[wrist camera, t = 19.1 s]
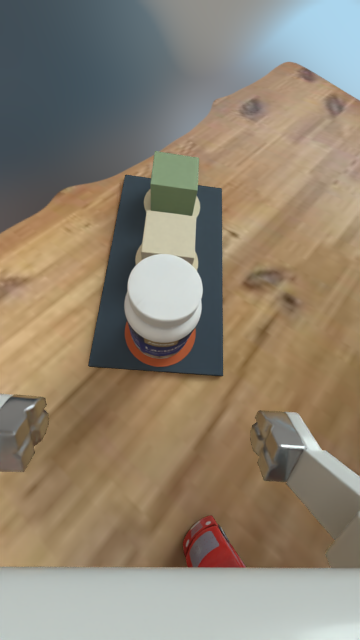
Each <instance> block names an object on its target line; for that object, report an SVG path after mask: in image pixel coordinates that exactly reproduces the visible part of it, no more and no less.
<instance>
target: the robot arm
mask: <svg viewBox="0 0 360 640" xmlns="http://www.w3.org/2000/svg"><path fill="white" fill-rule="evenodd" d="M46 405H47V404H46V399H45V398H43V397H36V396H24V395H10V394H0V472H24V471H25V469H26V468H27V466H28V464H29V462H30V461H31V459H32V457H33V455H34V454H35V450H34V446H35V445H37V444H38V443H39V442H41V441H42V439H43V438H44V436H45V434H46V431H47V428H48V425H49V415H48V413H47V412H46V411H45V410H44V408H45V407H46ZM255 418H256V421H257V422H256V423H255V424H254V425H252V428H251V431H250V440H251V445H252V448H253V451H254V452H255V453H256V454H257V455H258V456H259V459H258V462H257V463H258V466H259V468H260V471H261V474H262V477H263V480H264V481H276V482H287V483H286V484H287V485H288V486H289V487H290V489H291V490H292V491H293V492H294V493H295V494H296V496H297V497H298V498H299V499H300V500H301V501H302V503H303V504H304V505H305V506H306V507H307V508H308V510H309V511H310V512H311V513H312V514H313V515H314V517H315V518H316V519H317V520H318V521H319V522H320V524H321V525H322V526H323V527H324V528H325V529H326V531H327V532H328V533H329V534H330V535H331V536H332V538H333V539H334V542H333V543H332V544H331V545H330V547H329V548H328V549H327V551H326V554H325V555H326V558H327V560H328V562H329V564H330V567H331V568H221V567H0V640H360V476H358V475H357V474H356V473H354V472H353V471H352V470H350V469H349V468H348V467H347V466H345V465H344V464H343V463H341V462H340V461H339V460H337V459H336V458H335V457H334V456H332V455H331V454H330V453H328V452H327V451H324V450H321V448H320V446H319V445H318V443H317V442H316V440H315V439H314V437H313V436H312V434H311V432H310V431H309V429H308V428H307V426H306V425H305V423H304V421H303V420H302V418H301V417H300V415H299V414H297V413H296V412H278V411H258V412H257V414H256V417H255Z"/></svg>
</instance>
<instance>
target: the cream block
mask: <svg viewBox="0 0 360 640" xmlns="http://www.w3.org/2000/svg"><path fill="white" fill-rule="evenodd" d="M195 236H196V217H195V216H188V215H180V214H173V213H165V212H158V211H150V210H147V212H146V219H145V226H144V234H143V241H142V248H141V258H142V260H143V259H145V258H147V257H149V256H152V255H157V254H170V255H174V256H177V257H180V258H182V259H184V260H185V261H187V262H188V263H190V264H191V265H193V262H194V258H195Z"/></svg>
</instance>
